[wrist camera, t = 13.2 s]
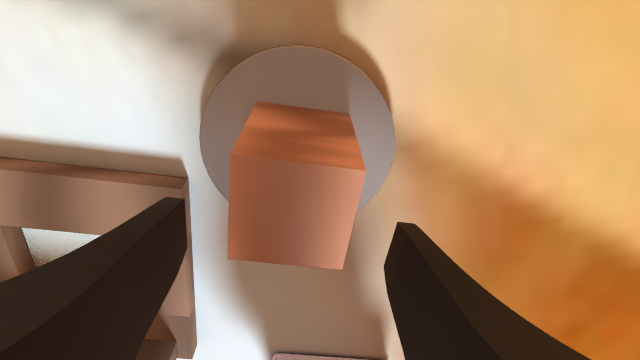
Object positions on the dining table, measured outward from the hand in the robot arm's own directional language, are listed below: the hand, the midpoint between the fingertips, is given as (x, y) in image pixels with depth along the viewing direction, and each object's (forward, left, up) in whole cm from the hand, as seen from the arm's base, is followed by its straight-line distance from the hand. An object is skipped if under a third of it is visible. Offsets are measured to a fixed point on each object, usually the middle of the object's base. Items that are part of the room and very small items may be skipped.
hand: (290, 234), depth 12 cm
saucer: (0, 0, -8) cm, 8 cm away
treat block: (0, 0, -7) cm, 7 cm away
